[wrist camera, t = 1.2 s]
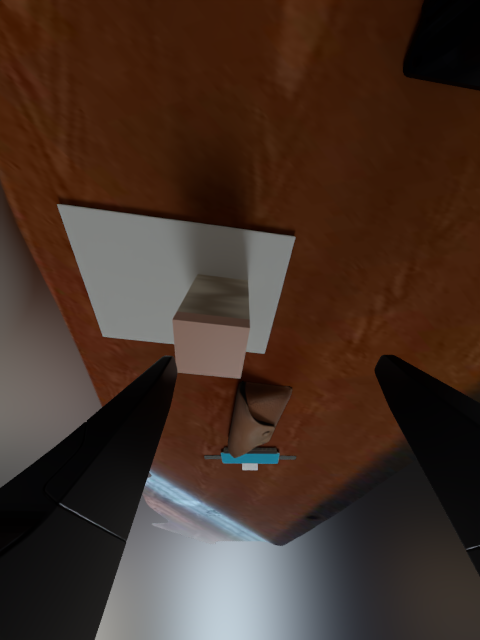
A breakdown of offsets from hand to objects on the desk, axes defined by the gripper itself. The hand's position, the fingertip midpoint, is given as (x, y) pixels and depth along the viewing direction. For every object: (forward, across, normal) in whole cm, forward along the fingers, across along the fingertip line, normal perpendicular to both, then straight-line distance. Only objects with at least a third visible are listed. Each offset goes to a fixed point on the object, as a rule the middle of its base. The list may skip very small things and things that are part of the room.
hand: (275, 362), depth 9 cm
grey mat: (+12, +8, +3) cm, 15 cm away
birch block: (+12, +4, +3) cm, 13 cm away
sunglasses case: (+13, 0, +26) cm, 29 cm away
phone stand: (+13, +1, +43) cm, 45 cm away
